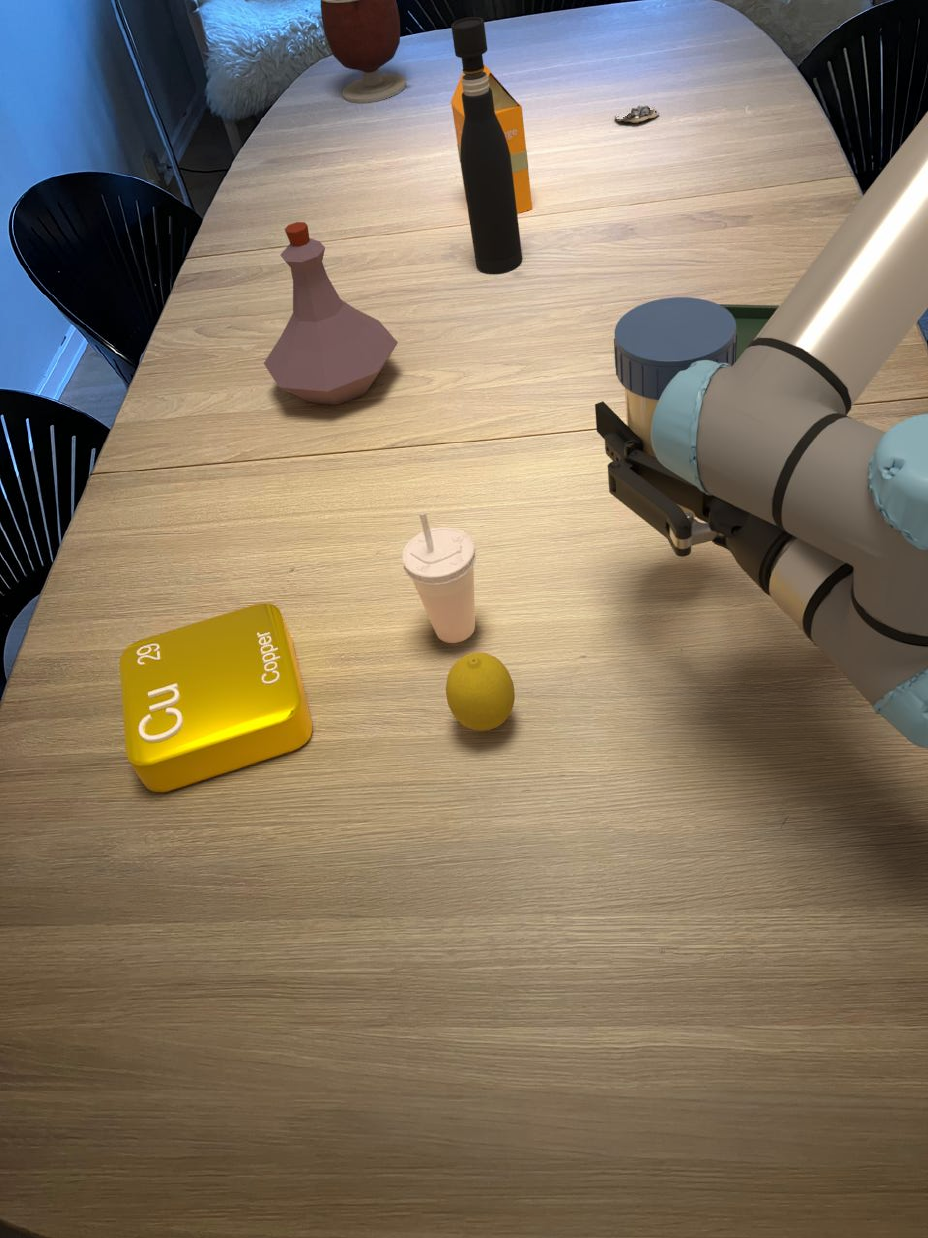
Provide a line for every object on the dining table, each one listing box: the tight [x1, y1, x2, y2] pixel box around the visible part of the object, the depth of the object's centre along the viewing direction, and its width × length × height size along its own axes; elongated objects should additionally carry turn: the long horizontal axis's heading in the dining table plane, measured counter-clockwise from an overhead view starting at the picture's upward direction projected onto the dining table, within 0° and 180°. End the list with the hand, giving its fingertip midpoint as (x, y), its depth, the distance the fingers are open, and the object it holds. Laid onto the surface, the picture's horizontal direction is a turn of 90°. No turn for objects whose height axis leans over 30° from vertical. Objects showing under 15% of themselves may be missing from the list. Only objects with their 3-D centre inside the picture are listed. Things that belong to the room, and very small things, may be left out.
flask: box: [263, 221, 399, 406], centre depth 119 cm, size 16×16×20 cm
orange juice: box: [450, 64, 533, 215], centre depth 147 cm, size 8×9×20 cm
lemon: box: [445, 652, 516, 732], centre depth 84 cm, size 6×6×8 cm
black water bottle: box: [450, 16, 523, 275], centre depth 131 cm, size 6×6×30 cm
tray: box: [718, 303, 780, 361], centre depth 119 cm, size 16×14×2 cm
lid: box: [613, 296, 737, 400], centre depth 77 cm, size 9×9×3 cm
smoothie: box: [401, 510, 478, 644], centre depth 90 cm, size 6×6×14 cm
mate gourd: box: [320, 0, 408, 104], centre depth 188 cm, size 16×14×20 cm
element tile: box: [119, 602, 313, 793], centre depth 90 cm, size 15×15×5 cm
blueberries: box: [614, 105, 660, 124], centre depth 168 cm, size 7×8×2 cm
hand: (644, 399), depth 86 cm, fingers closed on jar, 8 cm apart
